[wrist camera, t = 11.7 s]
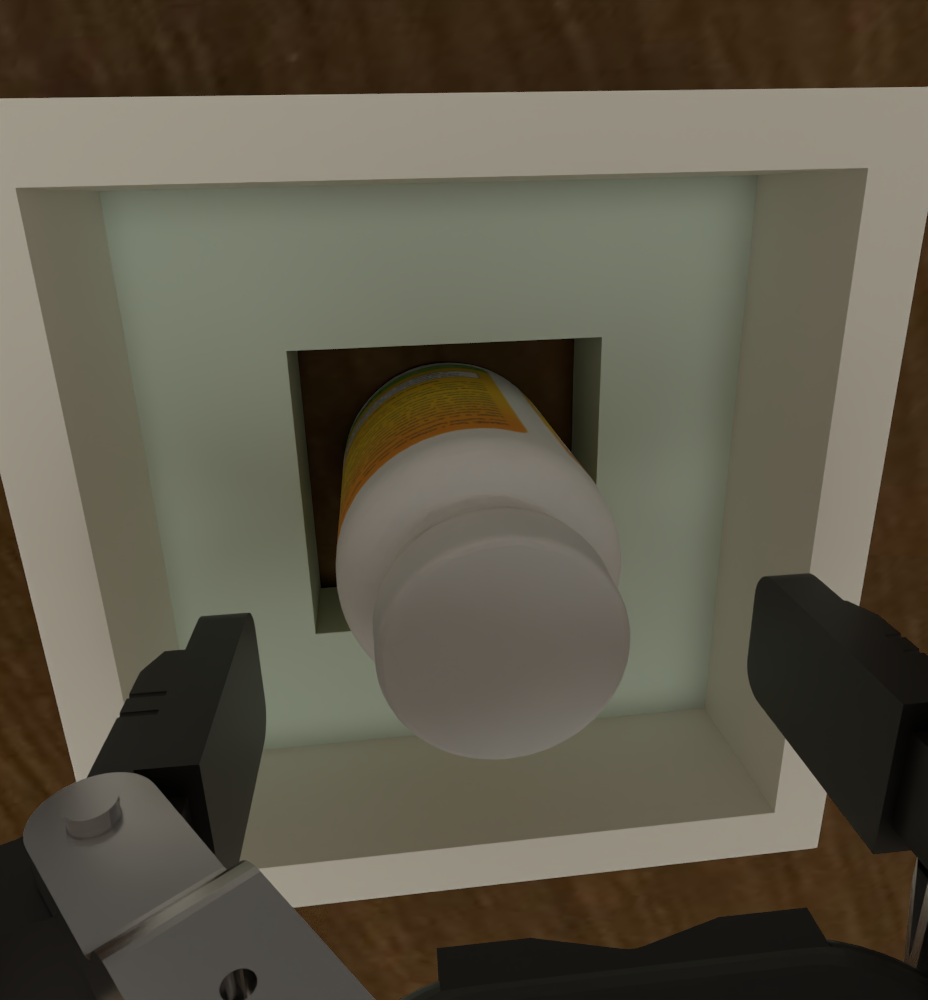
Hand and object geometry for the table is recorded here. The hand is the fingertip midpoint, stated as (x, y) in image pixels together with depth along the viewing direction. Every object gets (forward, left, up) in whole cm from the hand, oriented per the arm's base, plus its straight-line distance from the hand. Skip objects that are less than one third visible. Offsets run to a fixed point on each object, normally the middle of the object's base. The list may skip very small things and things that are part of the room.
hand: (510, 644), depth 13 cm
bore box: (0, 0, -9) cm, 9 cm away
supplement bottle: (0, 0, -9) cm, 9 cm away
